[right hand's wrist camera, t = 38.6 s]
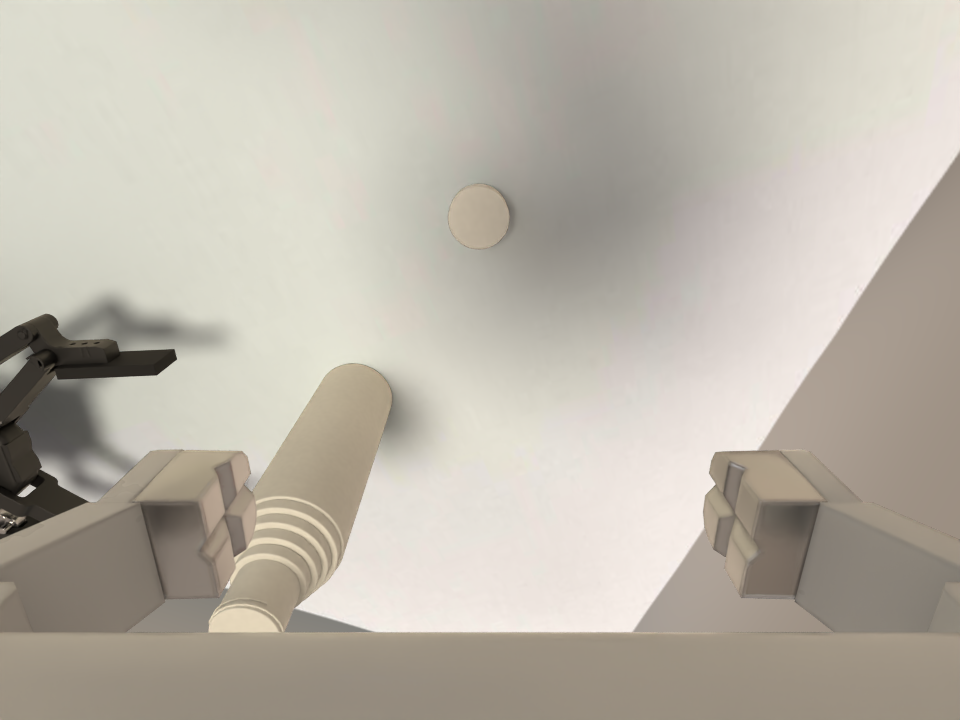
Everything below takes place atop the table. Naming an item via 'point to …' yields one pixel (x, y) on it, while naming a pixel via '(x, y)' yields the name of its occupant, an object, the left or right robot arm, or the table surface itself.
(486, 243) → the cap
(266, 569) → the bottle
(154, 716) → the right robot arm
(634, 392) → the table surface
